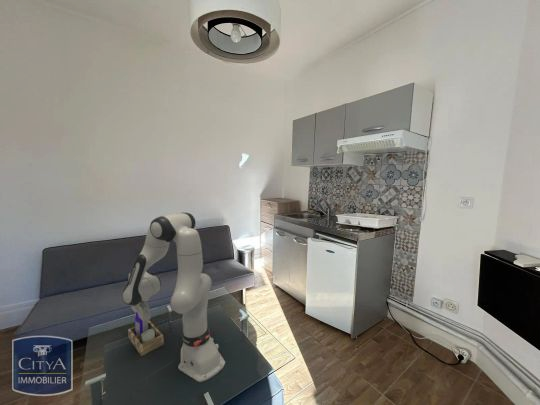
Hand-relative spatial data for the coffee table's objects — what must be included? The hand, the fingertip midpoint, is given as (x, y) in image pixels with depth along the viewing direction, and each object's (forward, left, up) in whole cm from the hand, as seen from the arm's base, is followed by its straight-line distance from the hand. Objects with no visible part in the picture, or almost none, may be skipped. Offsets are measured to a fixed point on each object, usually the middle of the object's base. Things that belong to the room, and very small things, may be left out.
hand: (141, 322), depth 127 cm
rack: (-5, 0, -10) cm, 11 cm away
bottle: (0, +1, -8) cm, 8 cm away
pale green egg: (-9, 0, -9) cm, 13 cm away
